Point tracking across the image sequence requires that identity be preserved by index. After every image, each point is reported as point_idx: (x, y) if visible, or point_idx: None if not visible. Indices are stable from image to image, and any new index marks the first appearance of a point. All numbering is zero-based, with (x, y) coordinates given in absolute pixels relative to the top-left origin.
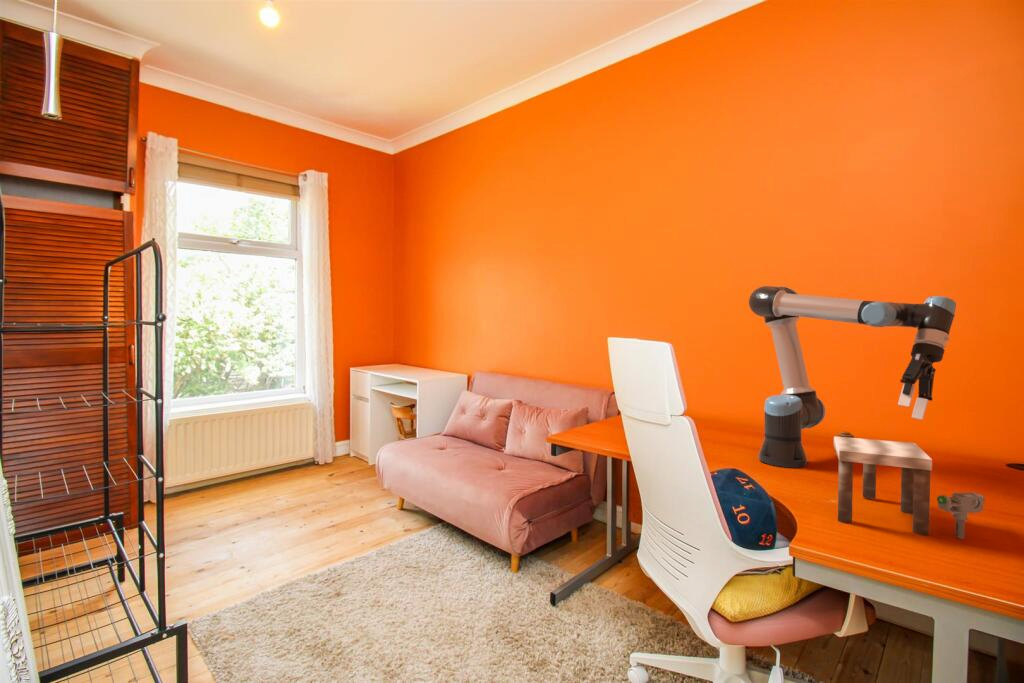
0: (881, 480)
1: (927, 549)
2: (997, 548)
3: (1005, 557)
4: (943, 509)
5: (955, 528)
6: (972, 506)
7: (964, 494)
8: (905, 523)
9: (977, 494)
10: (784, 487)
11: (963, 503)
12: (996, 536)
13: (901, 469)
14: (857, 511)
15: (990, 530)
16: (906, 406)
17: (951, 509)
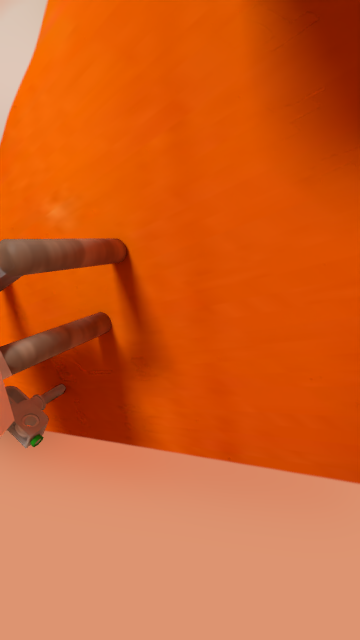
0: (309, 205)
1: None
2: (65, 420)
3: (48, 424)
4: (10, 391)
5: (51, 389)
6: (30, 425)
7: (21, 425)
8: None
9: (27, 441)
10: (46, 92)
11: None
12: (102, 424)
13: (30, 336)
14: None
15: (118, 420)
16: (4, 404)
17: (18, 399)
